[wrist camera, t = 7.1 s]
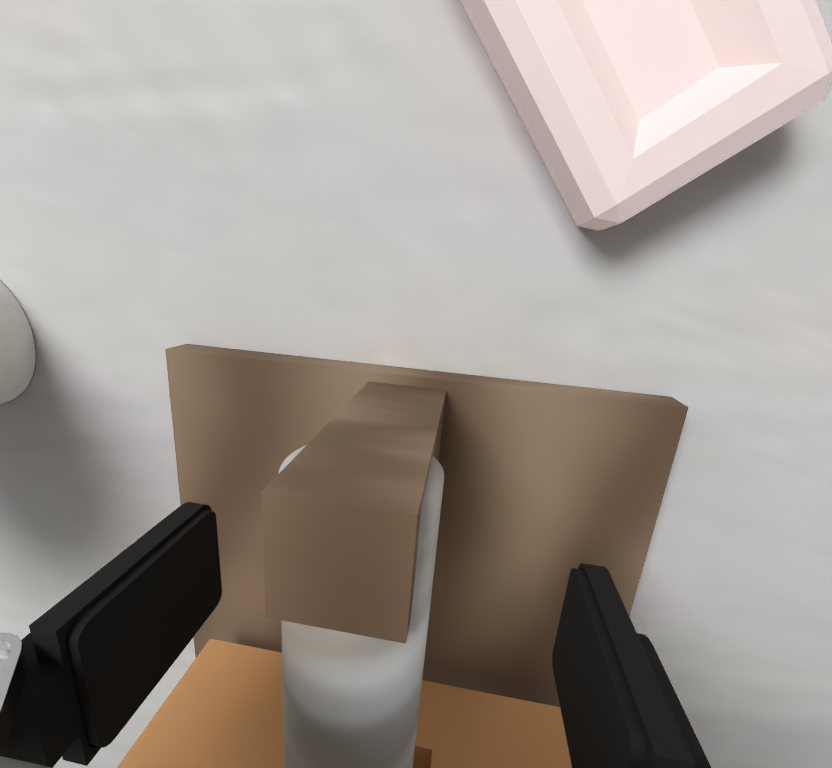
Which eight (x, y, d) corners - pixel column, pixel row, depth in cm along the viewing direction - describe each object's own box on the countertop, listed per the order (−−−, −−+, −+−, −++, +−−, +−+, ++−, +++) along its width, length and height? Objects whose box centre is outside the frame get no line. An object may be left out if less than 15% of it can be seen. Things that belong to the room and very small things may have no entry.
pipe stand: (671, 397, 12) (971, 581, 5) (560, 809, 17) (623, 1195, 10) (186, 343, 14) (-130, 420, 7) (218, 732, 19) (63, 1014, 12)
